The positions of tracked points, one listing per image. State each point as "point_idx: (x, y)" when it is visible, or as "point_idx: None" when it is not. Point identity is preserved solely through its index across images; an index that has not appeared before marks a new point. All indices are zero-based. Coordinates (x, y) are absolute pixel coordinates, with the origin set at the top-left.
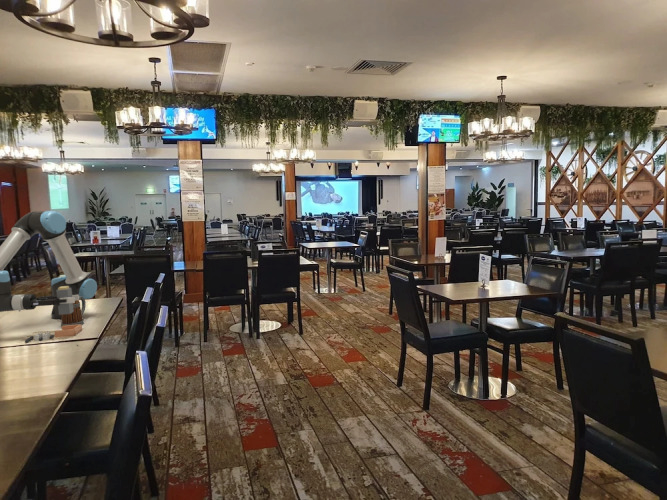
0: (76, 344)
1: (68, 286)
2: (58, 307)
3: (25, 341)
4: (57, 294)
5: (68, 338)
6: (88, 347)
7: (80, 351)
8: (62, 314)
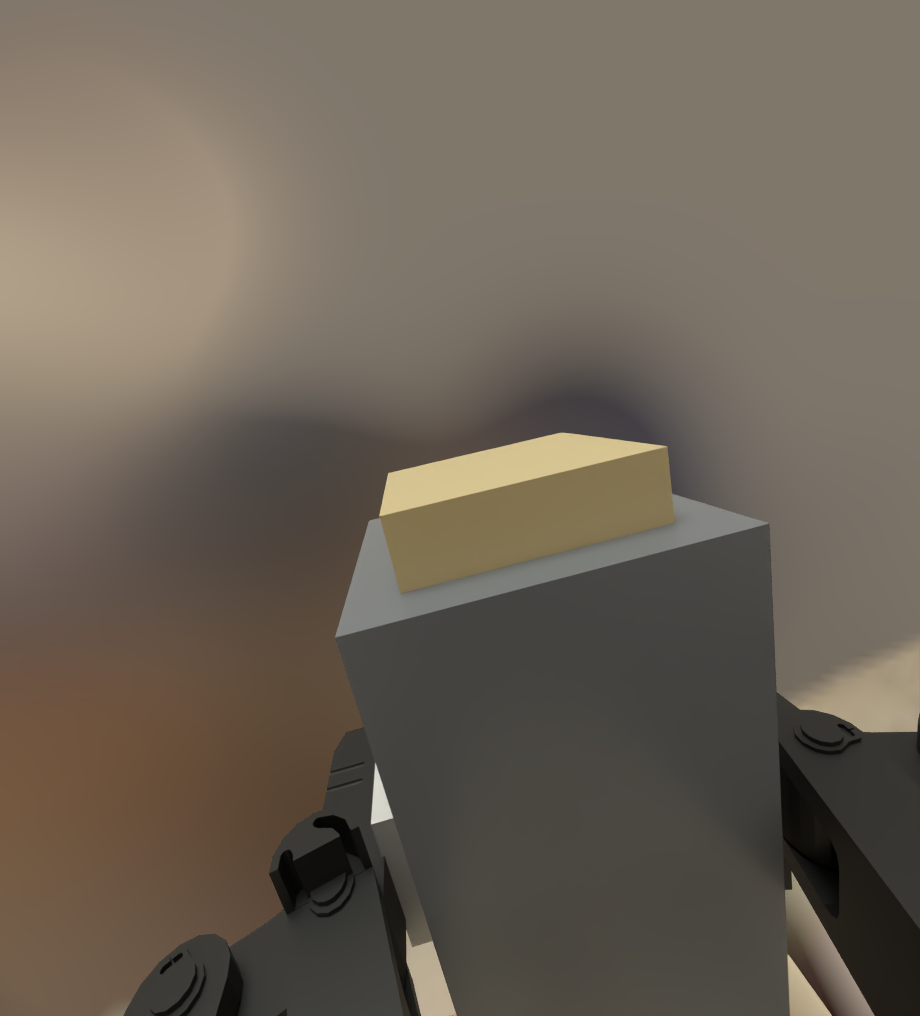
0: None
1: (423, 468)
2: (781, 1000)
3: None
4: (753, 662)
5: (824, 1007)
6: (824, 704)
7: (917, 699)
8: None
